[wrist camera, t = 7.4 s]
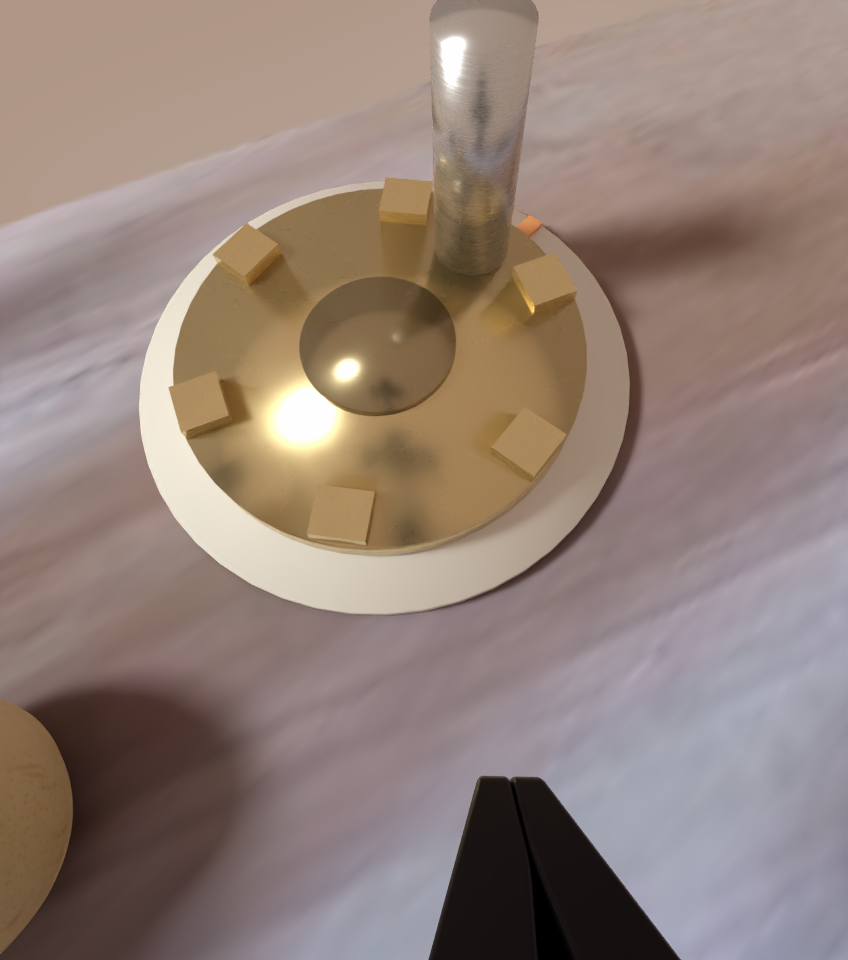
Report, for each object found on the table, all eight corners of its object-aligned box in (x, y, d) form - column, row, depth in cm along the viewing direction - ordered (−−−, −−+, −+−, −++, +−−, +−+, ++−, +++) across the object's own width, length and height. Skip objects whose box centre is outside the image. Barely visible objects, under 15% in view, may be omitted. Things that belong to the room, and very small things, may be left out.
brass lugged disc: (591, 226, 27) (669, -37, 18) (567, 585, 22) (661, 483, 12) (240, 194, 29) (137, -67, 19) (133, 524, 23) (-89, 390, 13)
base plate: (730, 436, 24) (740, 427, 24) (283, 728, 21) (277, 729, 20) (452, 130, 31) (452, 115, 30) (75, 319, 27) (64, 307, 27)
